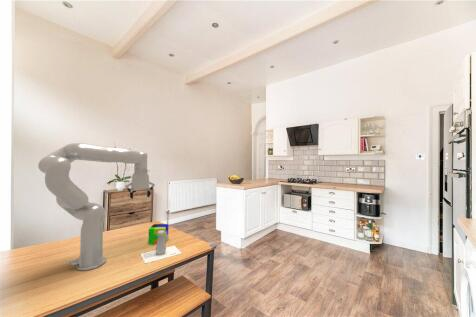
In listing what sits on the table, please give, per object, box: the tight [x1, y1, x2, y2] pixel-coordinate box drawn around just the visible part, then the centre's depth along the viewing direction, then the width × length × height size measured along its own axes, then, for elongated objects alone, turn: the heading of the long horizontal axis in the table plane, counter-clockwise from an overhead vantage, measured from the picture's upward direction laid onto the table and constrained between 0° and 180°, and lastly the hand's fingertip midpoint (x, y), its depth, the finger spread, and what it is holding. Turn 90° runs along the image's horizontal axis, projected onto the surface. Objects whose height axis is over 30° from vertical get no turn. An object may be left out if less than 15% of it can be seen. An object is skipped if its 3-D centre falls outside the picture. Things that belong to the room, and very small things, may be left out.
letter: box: [140, 245, 182, 264], centre depth 117 cm, size 20×13×1 cm, turn 126°
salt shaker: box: [155, 230, 167, 255], centre depth 117 cm, size 6×6×13 cm
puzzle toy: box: [147, 223, 169, 245], centre depth 135 cm, size 10×10×10 cm
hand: (140, 197), depth 129 cm, fingers open, 9 cm apart
